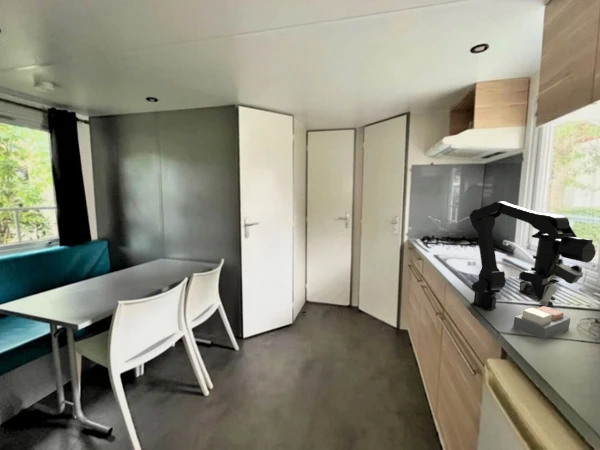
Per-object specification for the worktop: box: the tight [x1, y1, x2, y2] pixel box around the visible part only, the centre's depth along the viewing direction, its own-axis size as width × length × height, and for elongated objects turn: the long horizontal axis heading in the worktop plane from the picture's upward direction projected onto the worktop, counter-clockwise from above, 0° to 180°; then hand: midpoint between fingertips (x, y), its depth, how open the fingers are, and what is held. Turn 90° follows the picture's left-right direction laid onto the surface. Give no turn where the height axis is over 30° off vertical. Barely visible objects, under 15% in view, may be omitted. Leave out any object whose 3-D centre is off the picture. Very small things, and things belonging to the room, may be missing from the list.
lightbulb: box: [539, 283, 558, 307], centre depth 114 cm, size 6×6×11 cm
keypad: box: [512, 313, 571, 341], centre depth 96 cm, size 9×17×4 cm, turn 117°
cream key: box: [522, 307, 552, 326], centre depth 94 cm, size 6×6×4 cm
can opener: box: [519, 280, 556, 306], centre depth 124 cm, size 18×7×6 cm, turn 176°
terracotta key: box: [535, 305, 565, 321], centre depth 98 cm, size 6×6×4 cm
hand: (539, 299), depth 93 cm, fingers closed
